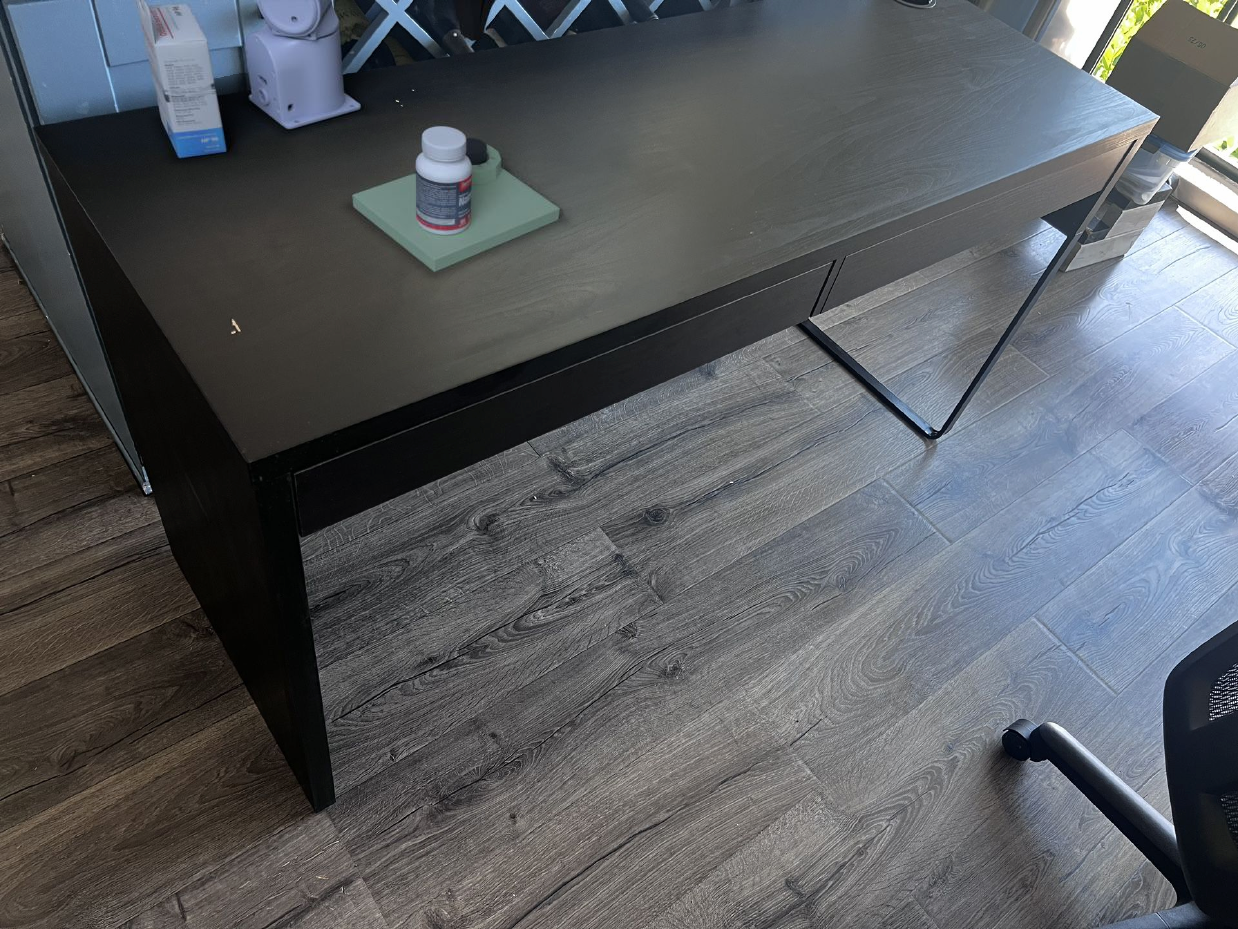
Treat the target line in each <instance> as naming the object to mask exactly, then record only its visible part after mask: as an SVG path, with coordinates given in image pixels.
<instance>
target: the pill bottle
mask: <svg viewBox="0 0 1238 929" xmlns="http://www.w3.org/2000/svg"><path fill="white" fill-rule="evenodd" d="M466 138H467V137H466V135H465V134H464V133H463V132H462V130H461V131H460V130H459V129H457V128H454V127H451V126H444V125H443V126H442V125H438V126H432V127H428V128H427V129H425V130H423V132H422V134H421V150H422V152H420V153H419V155H418V156H417V157H416V160H415V173H416V220H417V222H418V224H419V225H420V226H421V227H422V228H423V229H424V230H426V231H428V232H431V233H434V234H438V235H453V234H457V233H460V232H462V231H464V230H465V229H466V228H467V227H468V226H469V224H470V220H471V191H472V164H471V162H470V160H469V158H468V157H467V156H466V155H465V154H466Z"/></svg>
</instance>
